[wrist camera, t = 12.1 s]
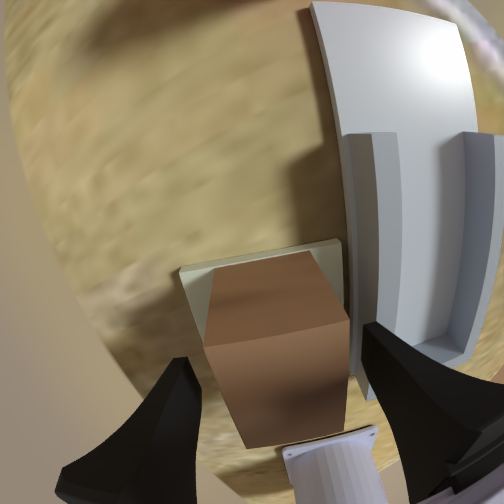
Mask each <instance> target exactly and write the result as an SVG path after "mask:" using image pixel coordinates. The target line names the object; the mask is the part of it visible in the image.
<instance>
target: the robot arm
mask: <svg viewBox="0 0 504 504" xmlns="http://www.w3.org/2000/svg"><path fill="white" fill-rule="evenodd" d="M361 362H362V365H363V368H364V371H365V374H366V377H367V379H368V381H369V383H370V385H371V387H372V389H373V391H374V393H375V395H376V397H377V399H378V401H379V403H380V405H381V407H382V409H383V411H384V413H385V415H386V417H387V420H388V422H389V424H390V427H391V429H392V432H393V435H394V438H395V441H396V445H397V448H398V451H399V455H400V458H401V462H402V466H403V470H404V475H405V479H406V484H407V490H408V496H409V503H410V504H504V384H498V383H493V382H489V381H485V380H481V379H478V378H475V377H472V376H469V375H466V374H463V373H461V372H458V371H456V370H453V369H451V368H449V367H447V366H445V365H443V364H441V363H439V362H437V361H435V360H433V359H431V358H430V357H428V356H426V355H425V354H423V353H421V352H420V351H418V350H416V349H415V348H413V347H412V346H410V345H409V344H407V343H406V342H405V341H403V340H402V339H400V338H399V337H398V336H396V335H395V334H393V333H392V332H391V331H389V330H388V329H387V328H385V327H384V326H382V325H381V324H380V323H378V322H377V321H375V322H371V323H368V324H364V325H363V334H362V349H361ZM201 411H202V389H201V387H200V384H199V382H198V380H197V378H196V376H195V373H194V371H193V369H192V367H191V364H190V362H189V360H188V358H187V357H180V358H173V359H172V361H171V362H170V364H169V365H168V367H167V368H166V370H165V371H164V373H163V374H162V376H161V377H160V378H159V380H158V381H157V383H156V384H155V386H154V387H153V388H152V390H151V391H150V393H149V394H148V395H147V397H146V398H145V399H144V401H143V402H142V403H141V404H140V406H139V407H138V408H137V409H136V411H135V412H134V413H133V414H132V415H131V417H130V418H129V419H128V420H127V421H126V422H125V423H124V424H123V425H122V426H121V427H120V428H119V429H118V430H117V431H116V432H114V433H113V434H112V435H111V436H110V437H109V438H108V439H106V440H105V441H104V442H103V443H102V444H100V445H99V446H98V447H96V448H95V449H94V450H92V451H91V452H89V453H88V454H86V455H85V456H83V457H81V458H80V459H78V460H76V461H74V462H72V463H70V464H69V465H67V466H65V467H63V468H62V470H61V473H60V476H59V479H58V482H57V485H56V488H55V494H56V495H57V496H58V497H59V498H60V499H62V500H63V501H65V502H66V503H68V504H197V496H196V463H195V462H196V450H197V442H198V434H199V427H200V419H201ZM377 432H378V427H377V426H376V425H374V426H370V427H367V428H364V429H360V430H357V431H354V432H350V433H346V434H343V435H339V436H335V437H331V438H327V439H322V440H318V441H313V442H309V443H304V444H299V445H293V446H287V447H284V448H283V449H282V455H283V459H284V462H285V466H286V470H287V474H288V478H289V481H290V484H291V485H293V488H294V494H295V501H296V504H388V500H387V497H386V494H385V491H384V488H383V485H382V483H381V479H380V477H379V473H378V470H377V467H376V465H375V462H374V459H373V456H372V453H371V451H372V448H373V445H374V442H375V439H376V435H377Z"/></svg>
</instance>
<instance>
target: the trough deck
mask: <svg viewBox="0 0 504 504" xmlns="http://www.w3.org/2000/svg"><path fill="white" fill-rule="evenodd" d="M309 9H310V12H311V16H312V20H313V23H314V27H315V31H316V34H317V38H318V42H319V46H320V51H321V55H322V59H323V64H324V68H325V73H326V77H327V82H328V87H329V92H330V98H331V103H332V109H333V115H334V121H335V127H336V133H337V140H338V147H339V154H340V162H341V170H342V179H343V189H344V199H345V210H346V223H347V239H348V259H349V302H350V314H349V319H350V342H349V369H348V371H349V373H350V375H351V376H352V375H355V377H356V379H357V381H358V384H359V386H360V388H361V391H362V393H363V395H364V398H365V400H366V402H367V401H370V400H374V399H377V397H376V395H375V393H374V391H373V389H372V387H371V385H370V383H369V381H368V379H367V377H366V374H365V371H364V368H363V365H362V362H361V349H362V334H363V325H364V324H368V323H371V322H375V321H377V322H378V323H380V324H381V325H382V326H384V327H385V328H387V329H388V330H389V331H391V332H392V333H393V334H395V335H396V336H398V337H399V338H400V339H402V340H403V341H405V342H406V343H407V344H409V345H410V346H412V347H413V348H415V349H416V350H418V351H420V352H421V353H423V354H425V355H426V356H428V357H430V358H431V359H433V360H435V361H437V362H439V363H441V364H443V365H445V366H447V367H449V368H451V369H453V368H455V367H457V366H459V365H461V364H463V363H465V362H467V361H469V360H471V357H472V355H473V352H474V349H475V346H476V344H477V341H478V338H479V335H480V332H481V329H482V326H483V323H484V319H485V316H486V313H487V309H488V305H489V302H490V298H491V294H492V290H493V285H494V281H495V276H496V271H497V266H498V261H499V255H500V249H501V242H502V235H503V227H504V135H497V134H489V133H481V132H478V126H477V117H476V109H475V102H474V95H473V90H472V84H471V79H470V74H469V69H468V65H467V61H466V57H465V53H464V49H463V45H462V42H461V38H460V35H459V32H458V28H457V25H456V24H454V23H451V22H448V21H444V20H441V19H437V18H434V17H430V16H426V15H422V14H418V13H413V12H408V11H404V10H398V9H393V8H387V7H380V6H373V5H365V4H355V3H342V2H318V1H312V2H311V4H310V6H309Z"/></svg>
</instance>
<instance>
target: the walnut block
mask: <svg viewBox="0 0 504 504" xmlns="http://www.w3.org/2000/svg"><path fill="white" fill-rule="evenodd" d="M349 342H350V319H349V317H348V315H347V314H346V312H345V310H344V308H343V307H342V305H341V303H340V301H339V299H338V298H337V296H336V294H335V293H334V291H333V289H332V287H331V286H330V284H329V282H328V280H327V279H326V277H325V275H324V274H323V272H322V270H321V269H320V267H319V265H318V264H317V262H316V260H315V259H314V257H313V255H312V254H311V252H310V250H307V251H302V252H297V253H292V254H286V255H281V256H276V257H271V258H265V259H260V260H255V261H250V262H244V263H239V264H234V265H228V266H223V267H218V268H215V270H214V276H213V282H212V289H211V295H210V301H209V308H208V315H207V321H206V328H205V335H204V342H203V349H204V352H205V354H206V357H207V360H208V362H209V365H210V367H211V370H212V372H213V375H214V377H215V379H216V382H217V384H218V387H219V389H220V391H221V394H222V396H223V399H224V401H225V403H226V405H227V408H228V410H229V412H230V415H231V417H232V419H233V421H234V423H235V426H236V428H237V430H238V432H239V434H240V436H241V438H242V441H243V443H244V445H245V447H246V449H251V448H260V447H267V446H274V445H281V444H287V443H292V442H298V441H303V440H308V439H313V438H317V437H322V436H326V435H330V434H334V433H338V432H342V431H344V422H345V412H346V400H347V386H348V369H349Z"/></svg>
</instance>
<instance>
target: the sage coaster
mask: <svg viewBox="0 0 504 504" xmlns="http://www.w3.org/2000/svg"><path fill="white" fill-rule="evenodd" d="M307 250H310V252H311V254H312V255H313V257H314V259H315V260H316V262H317V264H318V265H319V267H320V269H321V270H322V272H323V274H324V275H325V277H326V279H327V280H328V282H329V284H330V286H331V287H332V289H333V291H334V293H335V294H336V296H337V298H338V299H339V301H340V303H341V305H342V307H343V308H344V290H343V264H342V245H341V242H340V241H339V240H338V239H337V238H336V239H330V240H325V241H320V242H314V243H309V244H303V245H298V246H293V247H287V248H282V249H276V250H271V251H266V252H260V253H255V254H249V255H244V256H239V257H233V258H228V259H222V260H217V261H211V262H206V263H201V264H195V265H190V266H184V267H181V269H180V271H179V275H180V278H181V281H182V284H183V288H184V291H185V294H186V297H187V300H188V303H189V306H190V309H191V312H192V315H193V317H194V320H195V323H196V326H197V329H198V332H199V334H200V337H201V340H202V343H203V342H204V335H205V328H206V321H207V315H208V308H209V301H210V295H211V289H212V282H213V276H214V270H215V268H218V267H223V266H228V265H234V264H239V263H244V262H250V261H255V260H260V259H265V258H271V257H276V256H281V255H286V254H292V253H297V252H302V251H307Z"/></svg>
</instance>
